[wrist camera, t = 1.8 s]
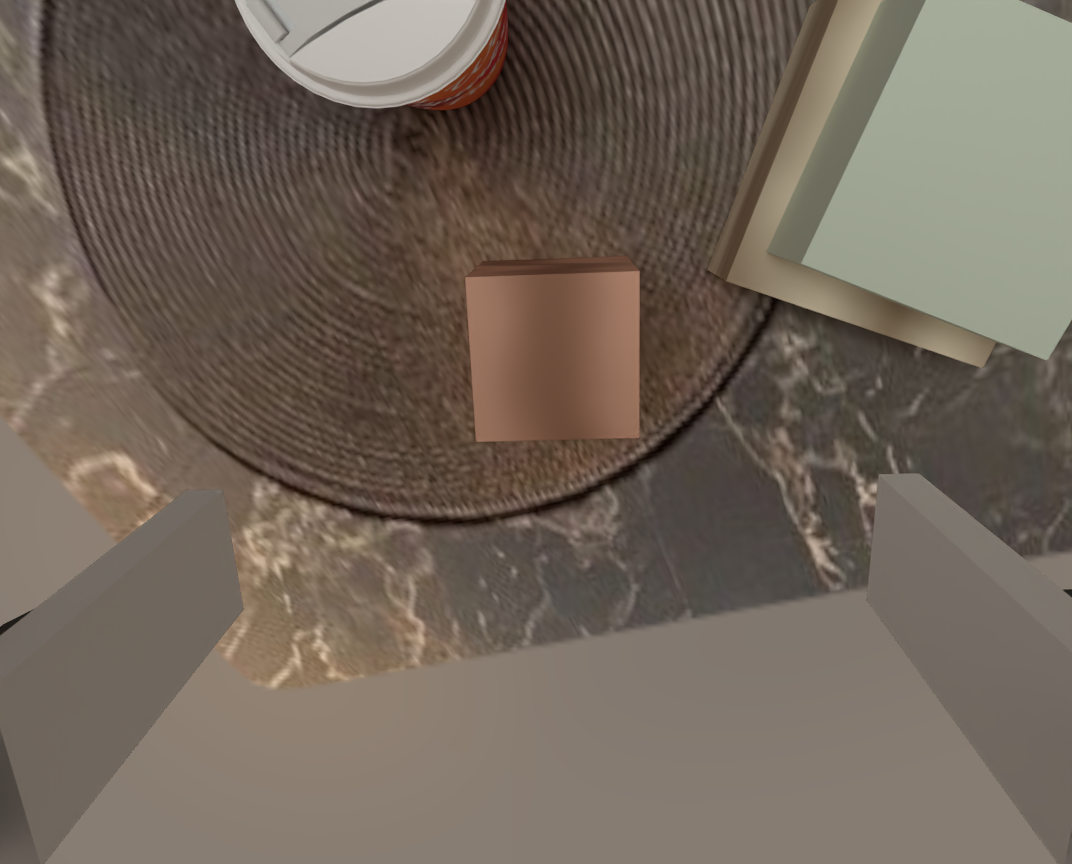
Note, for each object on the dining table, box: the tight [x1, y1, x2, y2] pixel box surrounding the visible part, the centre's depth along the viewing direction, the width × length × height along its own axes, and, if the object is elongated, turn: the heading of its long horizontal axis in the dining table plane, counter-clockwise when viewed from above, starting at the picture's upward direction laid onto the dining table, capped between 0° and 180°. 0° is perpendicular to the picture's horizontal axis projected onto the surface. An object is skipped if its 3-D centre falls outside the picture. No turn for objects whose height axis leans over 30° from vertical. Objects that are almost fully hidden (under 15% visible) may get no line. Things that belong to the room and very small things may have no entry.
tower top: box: [767, 0, 1072, 360], centre depth 29 cm, size 10×10×5 cm
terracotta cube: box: [465, 256, 640, 442], centre depth 35 cm, size 7×7×7 cm
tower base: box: [707, 0, 996, 368], centre depth 34 cm, size 12×12×5 cm
